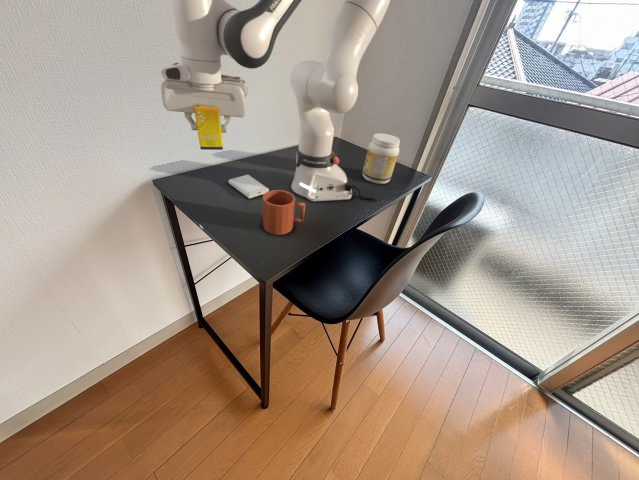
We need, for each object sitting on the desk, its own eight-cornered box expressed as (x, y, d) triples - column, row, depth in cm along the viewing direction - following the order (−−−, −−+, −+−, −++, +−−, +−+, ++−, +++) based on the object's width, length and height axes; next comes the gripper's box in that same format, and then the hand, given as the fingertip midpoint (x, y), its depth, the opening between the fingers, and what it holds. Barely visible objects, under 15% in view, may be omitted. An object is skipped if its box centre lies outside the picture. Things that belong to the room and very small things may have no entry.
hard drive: (228, 179, 95) (248, 194, 88) (248, 174, 100) (269, 188, 93) (228, 183, 96) (248, 198, 89) (248, 178, 101) (269, 192, 94)
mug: (262, 234, 76) (262, 205, 70) (263, 217, 82) (263, 189, 77) (304, 235, 78) (307, 207, 72) (302, 218, 84) (304, 191, 79)
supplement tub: (362, 169, 120) (371, 130, 109) (389, 174, 119) (401, 135, 109) (360, 181, 110) (370, 139, 100) (390, 187, 109) (403, 145, 99)
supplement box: (200, 141, 78) (194, 100, 72) (222, 142, 80) (218, 102, 73) (199, 149, 74) (193, 106, 67) (223, 150, 76) (218, 107, 69)
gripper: (247, 75, 70) (249, 130, 79) (161, 65, 67) (173, 124, 75) (245, 80, 66) (248, 137, 74) (153, 69, 62) (166, 131, 70)
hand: (209, 130), depth 75 cm, fingers closed on supplement box, 6 cm apart
